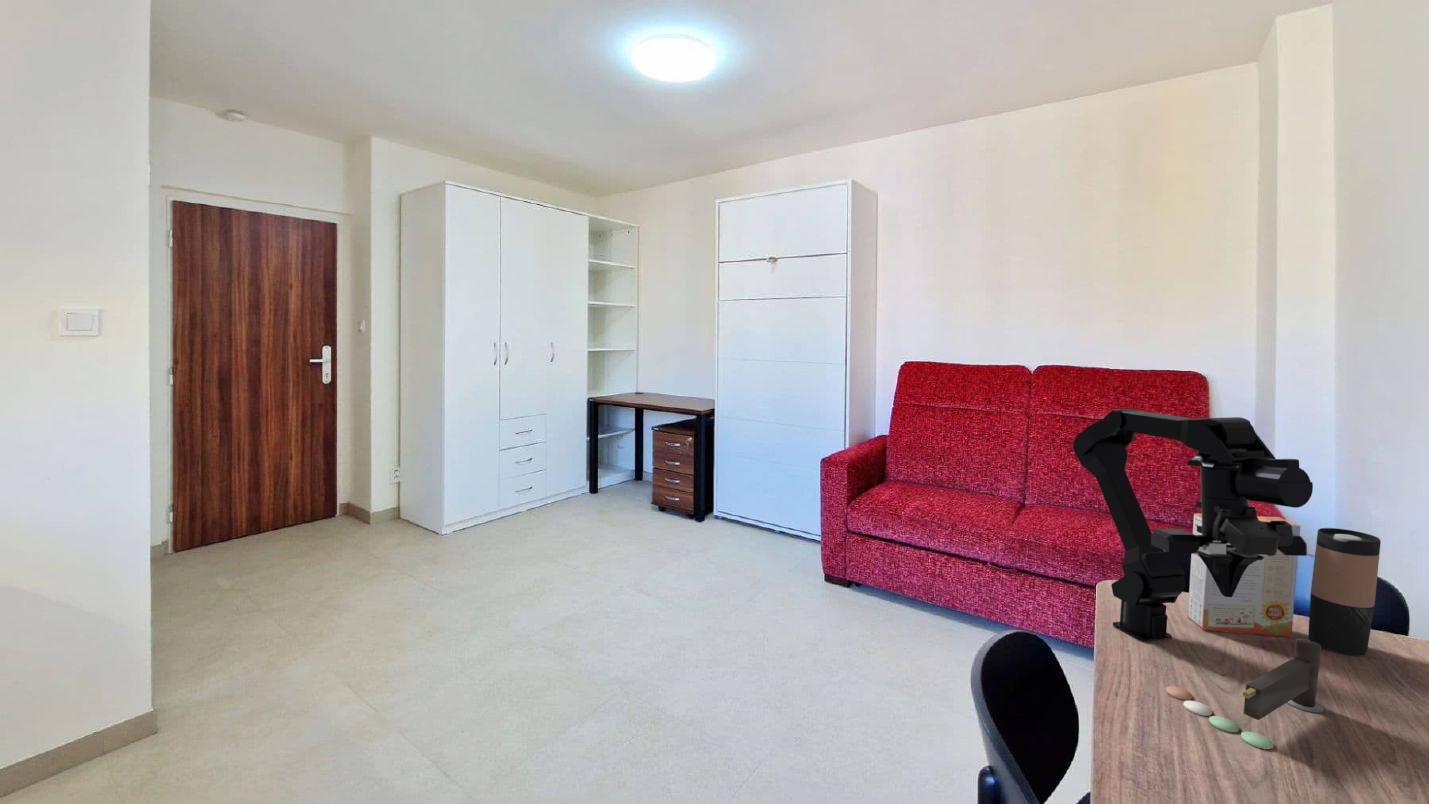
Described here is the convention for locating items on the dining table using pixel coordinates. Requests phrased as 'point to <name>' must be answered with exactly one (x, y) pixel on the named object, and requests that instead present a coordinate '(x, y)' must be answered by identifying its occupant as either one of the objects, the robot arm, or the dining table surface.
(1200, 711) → the pebbles
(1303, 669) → the hammer
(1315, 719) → the dining table surface
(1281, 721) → the dining table surface
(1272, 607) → the cracker box
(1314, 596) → the travel mug
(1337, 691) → the dining table surface
